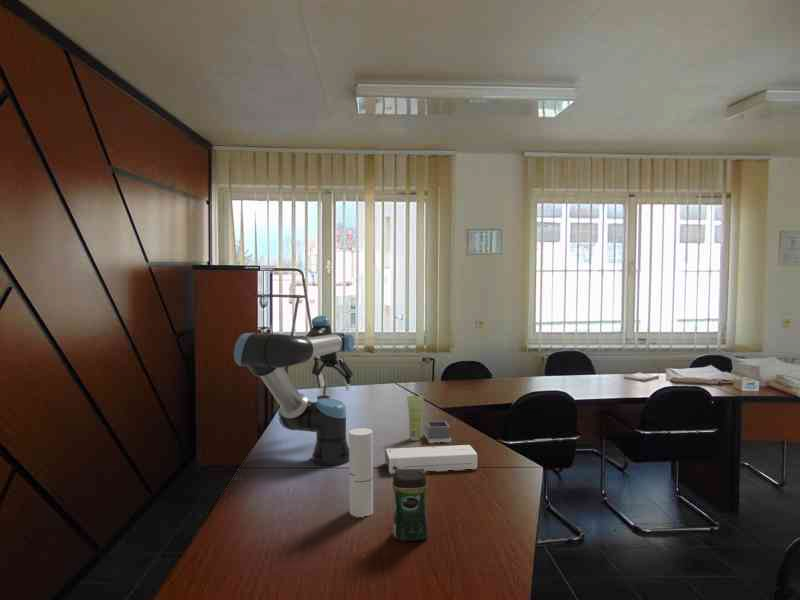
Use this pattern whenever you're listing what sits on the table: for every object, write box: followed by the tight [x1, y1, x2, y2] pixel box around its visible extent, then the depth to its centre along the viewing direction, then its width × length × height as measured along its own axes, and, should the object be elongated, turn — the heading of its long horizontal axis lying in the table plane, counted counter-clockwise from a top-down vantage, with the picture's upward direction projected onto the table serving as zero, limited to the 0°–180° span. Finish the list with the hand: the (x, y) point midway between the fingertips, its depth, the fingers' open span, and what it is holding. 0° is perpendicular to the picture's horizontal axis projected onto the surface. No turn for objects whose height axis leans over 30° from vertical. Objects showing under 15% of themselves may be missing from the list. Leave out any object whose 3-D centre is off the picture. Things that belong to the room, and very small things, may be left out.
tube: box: [406, 395, 425, 442], centre depth 227 cm, size 6×5×20 cm
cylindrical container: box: [348, 427, 374, 518], centre depth 155 cm, size 7×7×25 cm
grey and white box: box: [424, 420, 452, 444], centre depth 228 cm, size 12×10×6 cm
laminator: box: [384, 444, 479, 475], centre depth 193 cm, size 34×12×6 cm, turn 98°
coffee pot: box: [316, 386, 331, 400], centre depth 261 cm, size 21×12×15 cm, turn 5°
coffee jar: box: [392, 469, 429, 542], centre depth 141 cm, size 10×8×19 cm
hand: (335, 387), depth 235 cm, fingers open, 13 cm apart
